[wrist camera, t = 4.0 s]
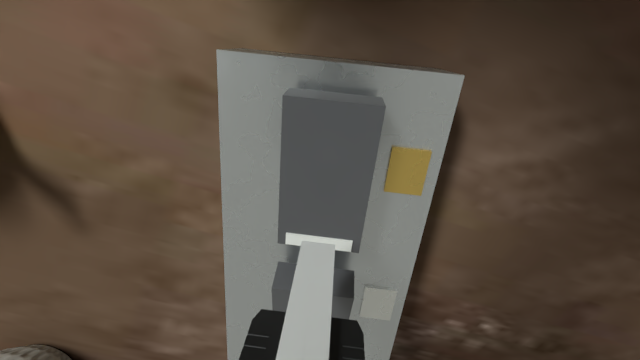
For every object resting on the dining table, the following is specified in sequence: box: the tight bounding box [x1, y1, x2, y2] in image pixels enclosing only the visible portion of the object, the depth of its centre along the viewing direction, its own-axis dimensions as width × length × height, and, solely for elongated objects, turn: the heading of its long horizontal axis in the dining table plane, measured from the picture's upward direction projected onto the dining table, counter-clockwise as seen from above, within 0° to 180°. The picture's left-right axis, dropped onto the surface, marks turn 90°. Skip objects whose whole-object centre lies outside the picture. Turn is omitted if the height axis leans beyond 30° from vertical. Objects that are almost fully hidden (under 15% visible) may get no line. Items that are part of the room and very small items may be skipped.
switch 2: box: [272, 261, 354, 319], centre depth 22 cm, size 9×5×2 cm, turn 175°
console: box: [217, 48, 465, 360], centre depth 26 cm, size 34×14×6 cm, turn 175°
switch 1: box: [278, 87, 386, 253], centre depth 18 cm, size 9×5×2 cm, turn 175°
